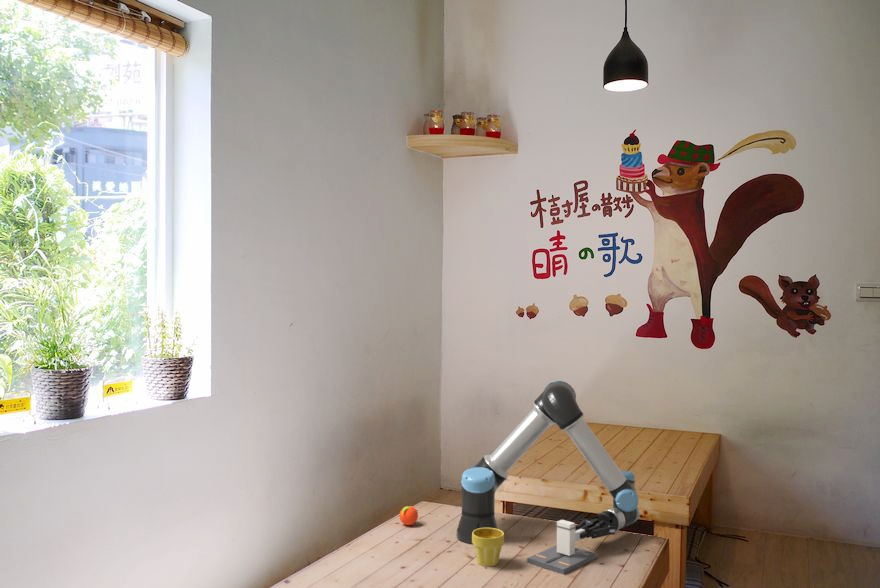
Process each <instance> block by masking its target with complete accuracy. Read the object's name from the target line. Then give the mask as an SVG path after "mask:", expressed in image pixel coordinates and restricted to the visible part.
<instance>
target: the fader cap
mask: <svg viewBox="0 0 880 588" xmlns="http://www.w3.org/2000/svg"><path fill="white" fill-rule="evenodd" d="M575 528H576V523H575V522H573V521H570V520H569V521H568V520H565V519H560V520H557V521H556V545H557V552H558V553H562V554H565V555H568V556H570V555H572V554H575V547H576V546H575V545H576V542H575Z"/></svg>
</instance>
